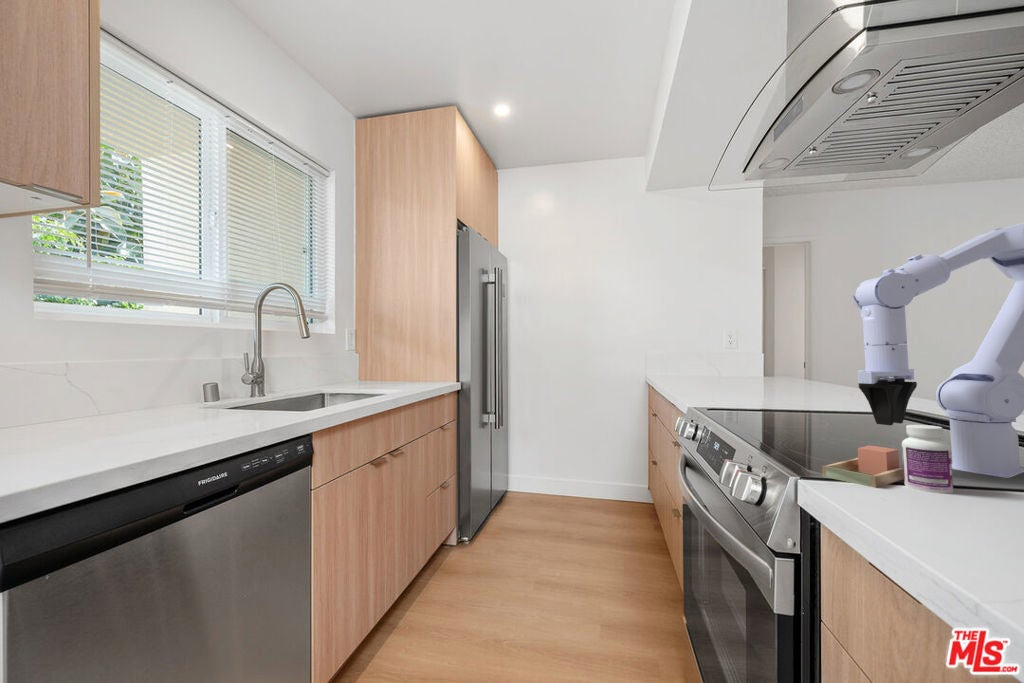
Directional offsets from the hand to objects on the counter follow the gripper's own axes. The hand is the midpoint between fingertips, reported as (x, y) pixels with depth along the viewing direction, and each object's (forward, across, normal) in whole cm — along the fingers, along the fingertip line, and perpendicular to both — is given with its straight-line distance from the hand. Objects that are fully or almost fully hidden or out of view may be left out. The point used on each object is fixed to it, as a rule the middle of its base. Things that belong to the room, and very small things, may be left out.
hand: (889, 423), depth 75 cm
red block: (+8, +4, 0) cm, 9 cm away
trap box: (+8, +6, 0) cm, 10 cm away
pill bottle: (+9, +8, +8) cm, 14 cm away
